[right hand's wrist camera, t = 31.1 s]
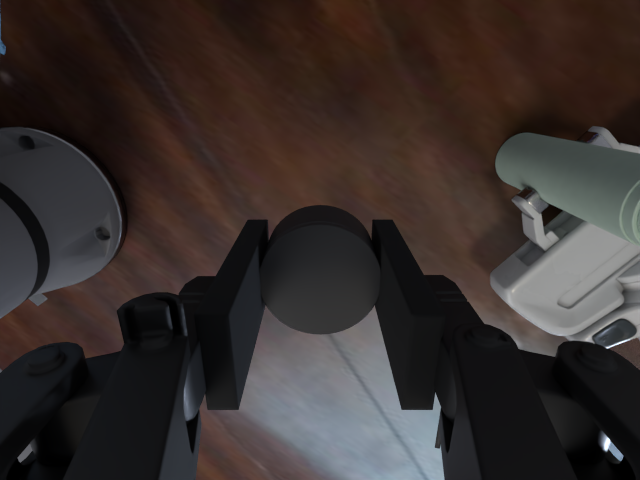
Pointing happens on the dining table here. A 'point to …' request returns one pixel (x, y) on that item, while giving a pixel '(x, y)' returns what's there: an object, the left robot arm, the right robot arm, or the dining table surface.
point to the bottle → (577, 179)
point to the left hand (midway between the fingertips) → (554, 165)
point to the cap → (320, 271)
